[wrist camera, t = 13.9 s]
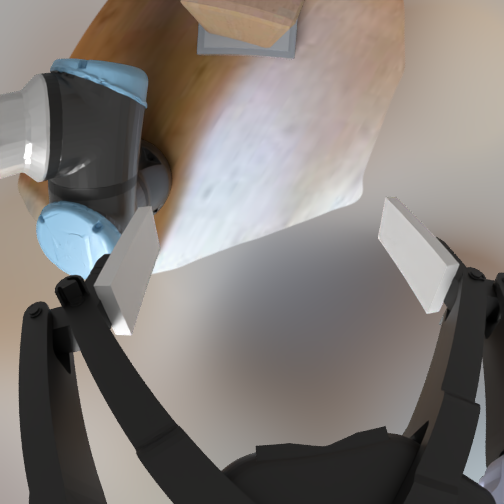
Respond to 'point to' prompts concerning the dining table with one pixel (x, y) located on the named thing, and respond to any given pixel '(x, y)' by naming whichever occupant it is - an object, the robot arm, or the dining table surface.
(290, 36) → the slate tray
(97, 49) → the dining table surface
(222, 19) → the wooden block
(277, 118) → the dining table surface
